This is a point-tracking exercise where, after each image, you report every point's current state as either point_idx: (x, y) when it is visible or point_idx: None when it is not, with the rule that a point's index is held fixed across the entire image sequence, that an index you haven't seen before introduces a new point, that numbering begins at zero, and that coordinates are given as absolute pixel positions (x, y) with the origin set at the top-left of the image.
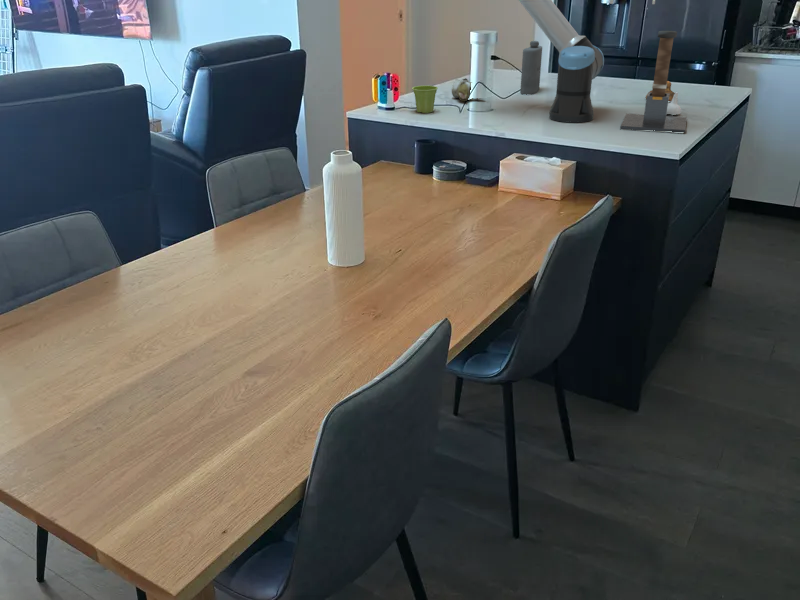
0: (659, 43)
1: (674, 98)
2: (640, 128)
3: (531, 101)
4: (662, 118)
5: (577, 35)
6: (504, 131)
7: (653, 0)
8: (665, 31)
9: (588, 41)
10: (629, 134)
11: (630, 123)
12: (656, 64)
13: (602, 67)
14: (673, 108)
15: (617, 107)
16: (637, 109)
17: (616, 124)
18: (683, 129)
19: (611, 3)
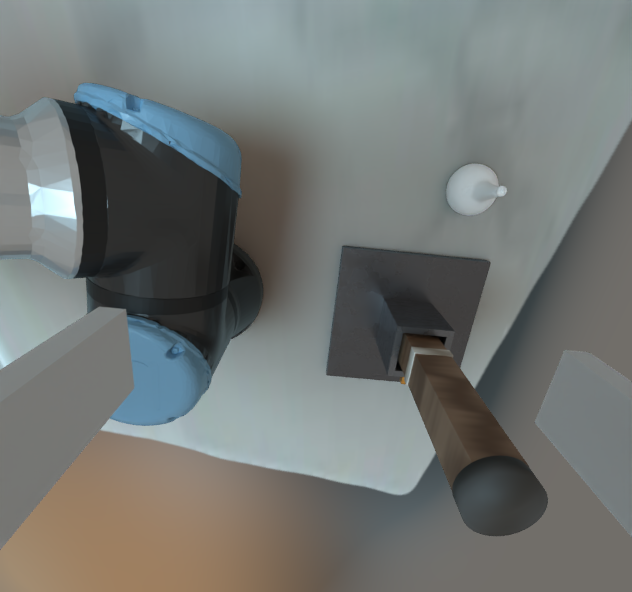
0: (449, 482)
1: (487, 198)
2: (367, 377)
3: (37, 60)
4: None
5: (31, 219)
6: (108, 424)
7: (568, 450)
8: (495, 501)
9: (121, 222)
10: (343, 403)
11: (348, 352)
12: (425, 423)
13: (241, 194)
14: (473, 214)
15: (322, 109)
16: (381, 129)
17: (319, 328)
18: None
19: (125, 388)
